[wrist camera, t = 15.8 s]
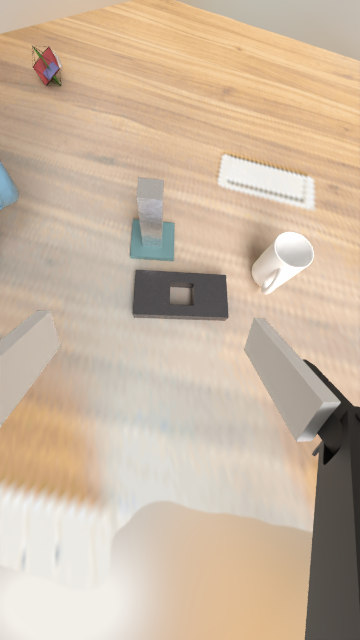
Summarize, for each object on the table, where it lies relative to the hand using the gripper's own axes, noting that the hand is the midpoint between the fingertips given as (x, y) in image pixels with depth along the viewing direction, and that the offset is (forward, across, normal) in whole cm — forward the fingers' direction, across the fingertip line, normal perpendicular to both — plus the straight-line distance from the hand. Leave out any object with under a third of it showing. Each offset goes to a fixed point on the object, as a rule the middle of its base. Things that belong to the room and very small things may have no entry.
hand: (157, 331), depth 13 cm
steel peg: (+38, -2, +1) cm, 39 cm away
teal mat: (+39, -2, 0) cm, 39 cm away
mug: (+33, +25, -6) cm, 42 cm away
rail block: (+29, +4, -10) cm, 31 cm away
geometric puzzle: (+76, -34, +36) cm, 91 cm away
